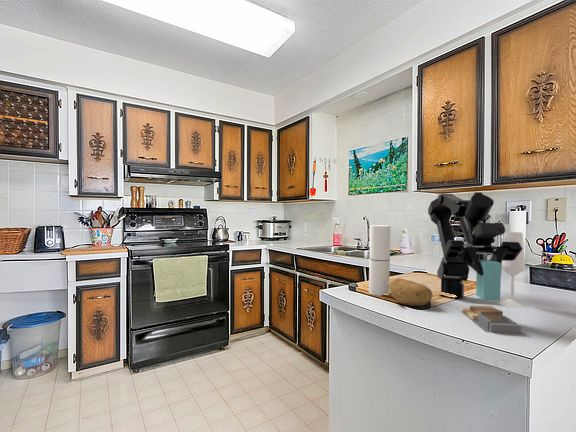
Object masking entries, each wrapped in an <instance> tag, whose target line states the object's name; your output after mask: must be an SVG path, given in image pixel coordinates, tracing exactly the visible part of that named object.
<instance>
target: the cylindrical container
mask: <svg viewBox="0 0 576 432" xmlns="http://www.w3.org/2000/svg"><path fill="white" fill-rule="evenodd" d="M390 258H391V225H385V224H384V225H382V224H371V225H370V226H369V259H368V261H369V263H368V264H369V265H368V267H369V269H368V270H369V271H368V273H369V274H368V281H369V282H368V294H370V295H373V296H379V297H383V296H382V295H384V294H387V293H389V294H390V288H389V284H390V270H391V269H390V265H391V264H390V263H391V262H390V261H391V259H390Z"/></svg>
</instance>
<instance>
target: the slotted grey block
mask: <svg viewBox="0 0 576 432" xmlns="http://www.w3.org/2000/svg"><path fill="white" fill-rule="evenodd" d="M460 312H461V313H462V314H463V315H464V316H466V317H467V318H468V319H469V320H470V321H472V322H473V323H474V324H475V325H476V326H478V327H479V328H481V330H483V331H484V332H485V333H491V334H492V333H494V334H495V333H496V334H507V335H522V336H527V334H526V333H524V332H523V331H522V325H520V324H518V323H517V322H515V321H514V320H512V319H510V318H509V317H507V316H506V315H503V316H501V322H498V321H490V320H489V319H488V318H486V317H485V316H483V315H482V314H478V320H473V319H471V318H470V317H469V316H468V315H466V314H465V313H464V312H463V311H462V310H460Z"/></svg>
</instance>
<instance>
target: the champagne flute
mask: <svg viewBox="0 0 576 432" xmlns="http://www.w3.org/2000/svg"><path fill="white" fill-rule="evenodd" d="M502 242H519V243H520V245H521V247H522V250H521V252H520V253H519V254H518V256H517V257H516V259H515V260H512V261H505V260H502V268H501V270H503V272H505V273H506V274H507V275H509V297H508V298H507V299H504V300H500V301H498V303H499V304H500V305H502V306H507V307H519V308H520V307H525V306H524V305H523V304H522V303H520V302H519V301H517V300H516V299H515V298H514V297H515V277H516V276H518V275H519V274H520V273H522V272H523V271H524V269H525V268H526V259H525V257H526V256H525V247H524V235H523V232H520V231H505V233H504V234H503V241H502Z"/></svg>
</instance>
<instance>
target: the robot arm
mask: <svg viewBox="0 0 576 432" xmlns="http://www.w3.org/2000/svg"><path fill="white" fill-rule="evenodd" d="M494 202H495V201H494V199H493V198H491V197H490V196H488V195H485V194H483V192H481V191H480V192H478V191H477V192H476V191H475V192H473V195H472V196H471V198H470V199H469V200H468V199H467V200H466V199H462V198H459V197H457V196H456V195H455V194H453V193H441V194H438V197H437V198H435V199H434V200H432V201H431V202H430V203H429V206H428V208H427V214H428V215H429V218H430V220H431V222H433V223H434V225H436V228H437V231H438V235H439V241H440V244H441V245H440V246H441V249H442V254H443V257H442V259H441V261H440V264H439V267H438V269H437V270H436V271H437V272H436V273H437V274H436V275H437V278H438V279H440V280H441V281H440V293H441V292H445V293H449V294H454V295H456V296H457V297H455V300H460V299H461V298H463V297H464V296H465V284H464V281H465V282H467V281H468V279H469V274H470V268H471V269H472V270H473V271H475V273H476V274H477V273H478V274H479V275H481V276H482V275H483V270H482V267H481V265H480V262H479V260H480V259H479V258H478V255H479V254H480V255H482V254H483V255H489V256H490V258H489V260H493V261H496V262H499V263H501V269H502V260H505V261H512V260H515V259H516V257H517V256H518V254H519V253H520V252H521V250H522V247H521V245H520V243H519V242H503V241H502V243H501V244H500V246H497V245H492V244H494V243H495V242H496V240H495V238H496V237H497V236H502V235H504V233H505V232H506V227H505V226H504V223H503V222H491V223H490V222H483V221H485V220H487V217H488V215H489V213H490V211H491V210H492V208H493V206H494ZM452 216H453V218H456V219H457V218H460V219H459V226H458V229H459V230H462V233H463V240H462V239H461V240H460V239H455V236H454V233H453V228H452V226H451V222H450V220H451V219H452Z"/></svg>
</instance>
